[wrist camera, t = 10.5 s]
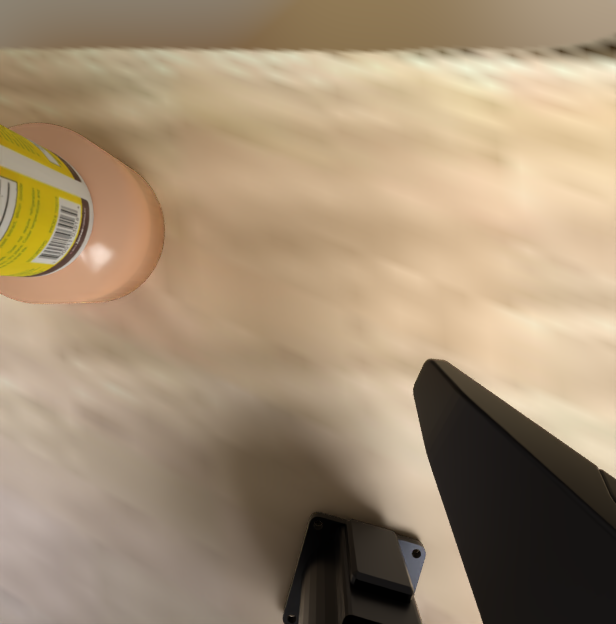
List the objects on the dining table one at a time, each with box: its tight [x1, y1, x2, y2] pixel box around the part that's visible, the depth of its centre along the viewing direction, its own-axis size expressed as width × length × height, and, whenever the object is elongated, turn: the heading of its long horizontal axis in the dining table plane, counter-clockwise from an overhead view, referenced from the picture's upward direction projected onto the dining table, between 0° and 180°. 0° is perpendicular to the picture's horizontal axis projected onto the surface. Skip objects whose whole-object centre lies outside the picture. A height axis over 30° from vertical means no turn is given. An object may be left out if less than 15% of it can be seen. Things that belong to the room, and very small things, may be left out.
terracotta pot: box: [0, 123, 165, 304], centre depth 19 cm, size 8×8×4 cm
